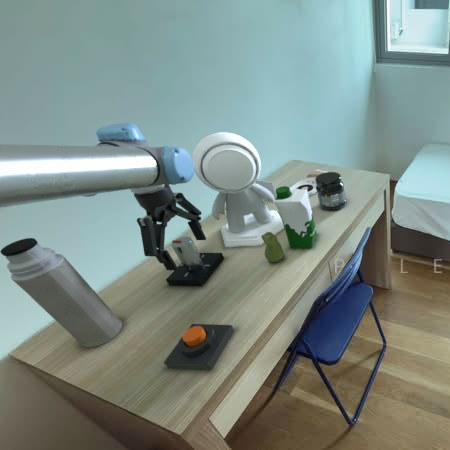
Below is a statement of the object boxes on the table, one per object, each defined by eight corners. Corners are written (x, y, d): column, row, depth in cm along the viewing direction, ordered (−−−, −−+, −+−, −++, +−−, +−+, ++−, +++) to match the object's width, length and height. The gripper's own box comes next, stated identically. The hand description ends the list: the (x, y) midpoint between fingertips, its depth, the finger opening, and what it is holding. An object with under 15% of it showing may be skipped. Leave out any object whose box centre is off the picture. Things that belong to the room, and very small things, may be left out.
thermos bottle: (75, 340, 74) (-21, 251, 58) (111, 315, 80) (34, 229, 64) (92, 352, 71) (-3, 262, 55) (129, 326, 77) (52, 237, 61)
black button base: (211, 370, 67) (203, 359, 65) (168, 368, 68) (159, 357, 65) (234, 330, 75) (228, 320, 73) (195, 329, 76) (188, 318, 73)
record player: (333, 173, 139) (304, 193, 124) (334, 179, 140) (305, 200, 126) (313, 168, 143) (282, 188, 129) (314, 175, 145) (284, 194, 131)
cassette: (254, 195, 131) (248, 179, 126) (257, 193, 132) (252, 177, 128) (276, 200, 127) (271, 183, 122) (279, 198, 128) (274, 181, 124)
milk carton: (294, 234, 107) (279, 182, 95) (320, 233, 106) (308, 181, 95) (286, 250, 100) (269, 196, 88) (314, 249, 99) (300, 196, 88)
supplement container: (330, 195, 128) (325, 169, 121) (351, 200, 124) (347, 173, 117) (314, 208, 120) (307, 180, 113) (336, 213, 116) (331, 185, 110)
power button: (199, 347, 67) (195, 341, 66) (182, 346, 68) (178, 341, 67) (210, 331, 71) (206, 326, 70) (193, 331, 71) (189, 325, 70)
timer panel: (202, 286, 88) (198, 280, 86) (169, 285, 88) (165, 279, 87) (224, 258, 97) (221, 252, 96) (194, 258, 98) (191, 251, 97)
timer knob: (207, 259, 93) (194, 235, 88) (197, 271, 89) (183, 246, 84) (192, 259, 94) (178, 235, 88) (181, 271, 90) (166, 246, 84)
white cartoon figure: (228, 256, 98) (178, 152, 78) (219, 223, 114) (176, 129, 94) (290, 235, 106) (260, 135, 86) (273, 206, 123) (244, 117, 102)
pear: (287, 260, 96) (279, 234, 90) (270, 267, 93) (261, 242, 87) (281, 251, 99) (273, 226, 94) (265, 258, 97) (255, 233, 91)
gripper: (125, 215, 66) (171, 285, 79) (195, 166, 86) (223, 228, 99) (93, 215, 67) (144, 284, 79) (169, 167, 87) (201, 228, 99)
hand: (188, 253), depth 89 cm, fingers open, 12 cm apart
